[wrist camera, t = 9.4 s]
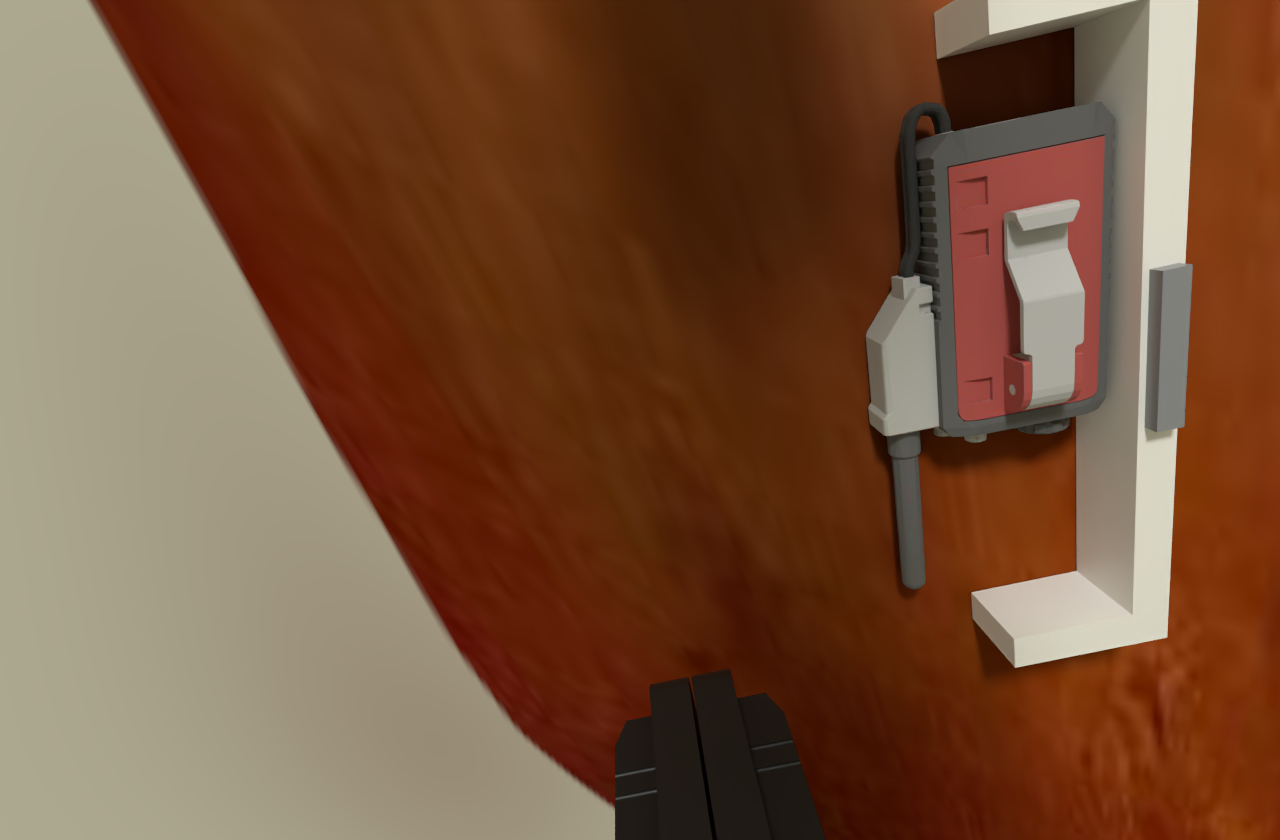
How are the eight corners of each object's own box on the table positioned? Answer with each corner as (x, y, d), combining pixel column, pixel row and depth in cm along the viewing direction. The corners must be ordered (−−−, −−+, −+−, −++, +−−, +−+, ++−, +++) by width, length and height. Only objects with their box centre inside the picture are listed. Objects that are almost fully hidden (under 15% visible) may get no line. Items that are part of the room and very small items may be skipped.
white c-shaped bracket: (934, 12, 23) (998, -27, 19) (1116, -31, 23) (1218, -80, 19) (972, 618, 31) (1023, 677, 27) (1108, 591, 31) (1178, 646, 27)
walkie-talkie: (838, 122, 24) (878, 575, 31) (883, 105, 20) (920, 633, 27) (1070, 74, 24) (1064, 541, 30) (1165, 46, 20) (1135, 594, 26)
